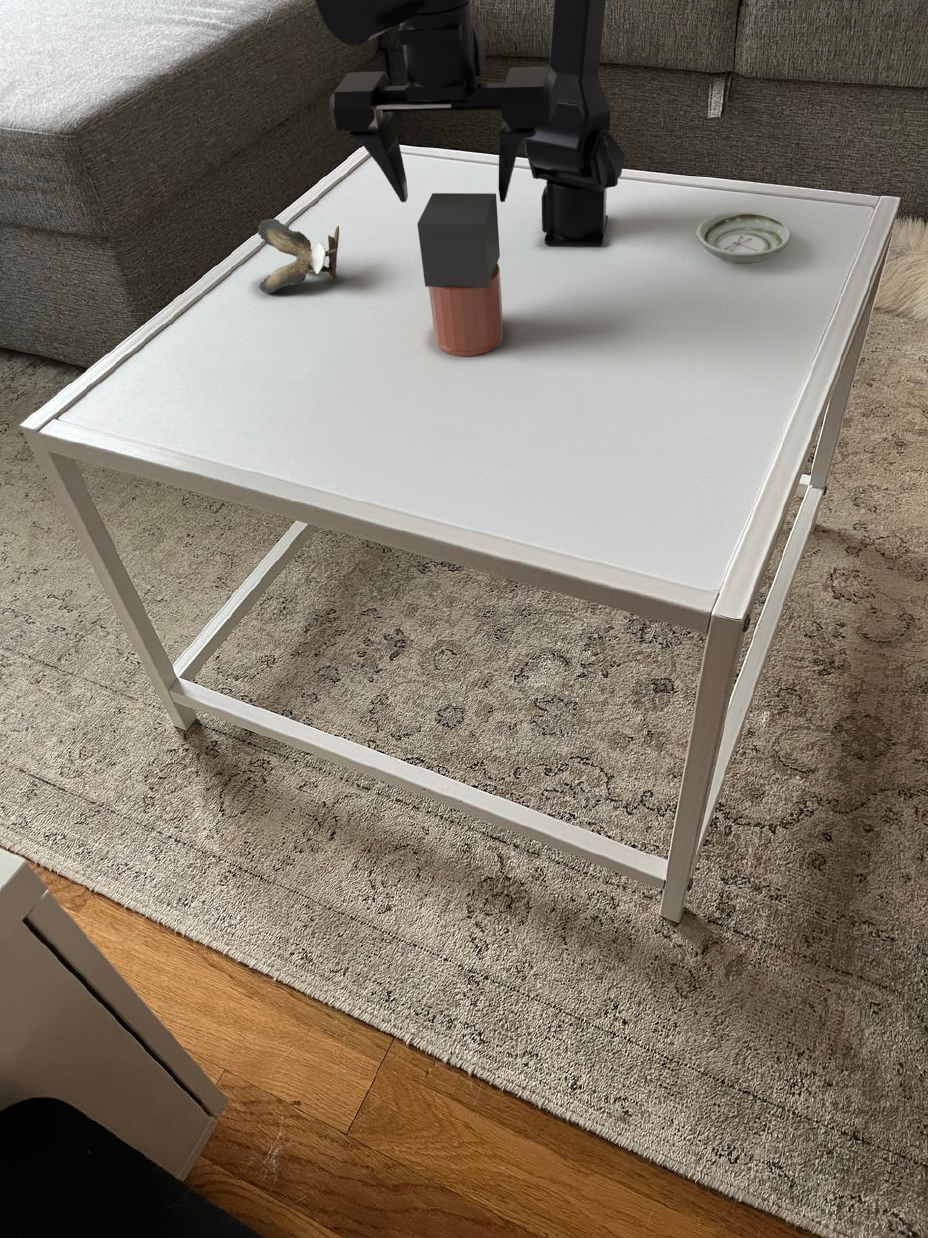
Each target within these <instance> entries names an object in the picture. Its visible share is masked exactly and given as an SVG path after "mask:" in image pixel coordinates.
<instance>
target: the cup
mask: <svg viewBox="0 0 928 1238" xmlns="http://www.w3.org/2000/svg"><path fill="white" fill-rule="evenodd" d="M428 292H429V302H430V309H431V317H432V325H433V333H434V340H435V345H436V346H437V347H438V349H439V350H441V351H442V352H444V353H445V354H448V355H451V356H455V357H475V356H479V355H483V354H486V353H488V352H490V351H492V350H494V349H496V348H497V347H498V346H499V345H500V344H501V343H502V341H503V339H504V317H503V302H502V300H503V299H502V285H501V270H500V266H499V264H498V263H497V265H496V268H495V271H494V274H493V277H492V279H491V282H490V285H489V288H460V287H428Z"/></svg>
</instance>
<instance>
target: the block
mask: <svg viewBox="0 0 928 1238" xmlns="http://www.w3.org/2000/svg"><path fill="white" fill-rule="evenodd" d="M497 200H498V199H497V193H493V192H492V193H491V192H490V193H485V192H484V193H483V192H482V193H480V192H477V193H475V192H473V193H472V192H471V193H470V192H469V193H468V192H467V193H457V192H455V193H454V192H453V193H452V192H450V193H449V192H447V193H446V192H433V193H431V195H430V197H429V200H428V201H427V203H426V205H425V207H424V209H423V212H422V213H421V216H420V217H419V219H418V222H417V223H416V224H417V233H418V241H419V248H420V249H419V250H420V255H421V263H422V273H423V280H424V281H423V282H424V287H427V288H429V287H460V288H489V285H490V282H491V279H492V277H493V274H494V271H495V268H496V265H497V264H498V262H499V260H500V257H501V252H500V250H501V249H500V235H499V217H498V203H497V202H498V201H497Z"/></svg>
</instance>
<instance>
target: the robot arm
mask: <svg viewBox="0 0 928 1238" xmlns="http://www.w3.org/2000/svg"><path fill="white" fill-rule="evenodd" d="M606 1H607V0H553V8H552V9H553V11H552V21H551V22H552V23H551V35H550V36H551V37H550V50H549V63H548V66H523V67H522V66H521V67H520V66H519V67H510V68H509V70H508V73H507V75H506V77H505V80H504V82H498V83H497V82H493V83H491V82H490V83H487V82H486V83H477V78H481V77H482V76H483V73H484V70H485V69H486V27H484V26H483V25H479V24H476V23H475V20H474V11H473V4H472V2H471V0H315V4H316V7H317V11H318V12H319V15H320V17H321V20H322V22H323V23H324V24H325V26H326V28H327V29H328V30H329V32H330V33H331V34H332V36H334V37H335V38H336V39H338V40H339V42H341V43H343V44H345V45H347V46H351V47H357V46H361V45H364V44H366V43H367V42H369V41H371V40H373V39H374V38H375V39H376V37H378V36H380V35H382V34H385V33H386V32H388V31H389V30H391V29H393V28H395V27H397V26H399V25H400V27H399V28H398V30H397V33H398V40H399V46H402V52H403V56H404V65H405V73H406V79H407V80H406V81H407V83H406V85H391V83H390V77H388V75H387V72H386V71H354V72H347V73H346V75H345V76H344V78H343V79H342V80H341V82H340V83H339V84H338V85H337V87H336V88H335V90H334V91H333V93H332V94H331V96H330V97H329V104H328V105H329V106H328V109H329V110H328V111H329V115H330V121H331V126H332V129H333V130H334V131H336V132H348V137H349V140H350V141H355V142H359V143H360V144H361V145H362V147H363V148H364V149H365V150H366V151H367V152H368V154H369V155H370V156H371V158H372V159H373V161H375V163H376V164H377V166H378V167H379V169H380V170H381V172H382V173H383V175H384V177H385V178H386V179H387V181H388V183H389V184H390V186H391V187H392V189H393V191H394V192H395V194H396V195H397V197H398V200H400V202H401V203H406V202H407V201H408V198H409V191H408V182H407V175H406V170H405V165H404V160H403V155H402V151H401V146H400V142H399V137H398V136H399V135H398V130H397V129H398V125H397V123H398V121H397V113H403V112H404V113H405V112H406V113H407V112H409V113H411V112H449V111H450V112H456V111H457V112H458V111H499V110H500V111H501V119H502V120H503V123H502V124H501V127H500V130H499V132H498V134H499V135H498V186H497V187H498V188H497V189H498V195H499V201H500V202H501V203H505V202H506V199H507V196H508V192H509V189H510V184H511V179H512V175H513V172H514V168H515V163H516V161H517V160H516V159H517V157H518V156H517V155H518V152H519V149H520V146H521V144H522V141H523V143H524V150H525V156H526V158H527V161H528V165H529V168H530V172H531V176H532V178H533V179H535V180H539V179H540V180H543V181H546V184H545V186H544V188H543V191H542V194H541V231H542V232H543V233H545V237H544V245H545V246H583V247H584V246H585V247H589V246H590V247H591V246H592V247H599V246H602V245H604V240H605V237H606V231H607V228H608V222H609V215H607V194H608V193H607V192H608V191H607V190H608V189H609V188H615V187H617V186H618V184H619V178H620V177H621V176H622V173H623V169H624V161H625V158H626V157H625V152H624V151H623V150H622V148H621V147H620V145H618V142H616V140H615V139H614V137H613V136H612V134H611V133H610V124H611V123H610V122H611V121H610V120H611V107H610V104H609V102H608V99H607V97H606V94H605V92H604V89H603V87H602V84H601V82H600V79H599V67H600V60H601V51H602V50H601V49H602V40H603V30H604V21H605V12H606V11H605V10H606Z"/></svg>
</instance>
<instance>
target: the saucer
mask: <svg viewBox="0 0 928 1238" xmlns="http://www.w3.org/2000/svg"><path fill="white" fill-rule="evenodd" d="M695 234H696V239H697V241H698V243H699V244H700V245H701V246H702V247H703V248H704V249H705V250H706V251H707V252H708V253H709V254H711V255H712V256H714V257H716V258H718V259H720V260H721V261H723V262H726V263H728V264H734V265H749V264H754V263H757V262H759V261H763V260H766V259H769V258H770V257H771V258H772V257H773V256H775V255H776V254H778V253H779V252H781V251H782V250H784V249H785V248H787V246H788V245H789V244H790V242H791V240H792V237H793V236H792V229H791V228H790V227H789V225H788V224H787V223H786V222H785V221H783V220H782V219H780V218H778V217H776V216H774V215H771V214H768V213H763V212H758V211H749V210H748V211H747V210H740V211H739V210H738V211H736V210H735V211H727V212H722V213H718V214H715V215H712V216H710V217H707V218H706V219H704V220H703V221H702V222H701V223H700V224H699V225H698V226H697V228H696V233H695Z"/></svg>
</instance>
